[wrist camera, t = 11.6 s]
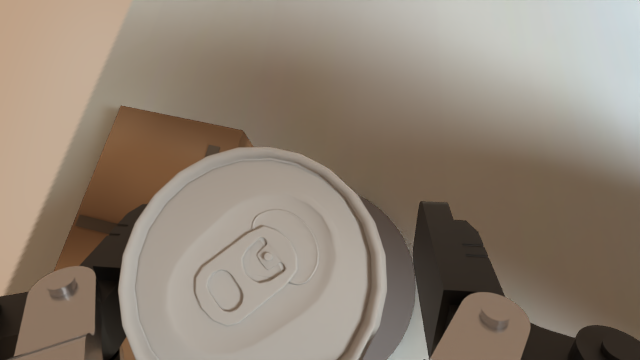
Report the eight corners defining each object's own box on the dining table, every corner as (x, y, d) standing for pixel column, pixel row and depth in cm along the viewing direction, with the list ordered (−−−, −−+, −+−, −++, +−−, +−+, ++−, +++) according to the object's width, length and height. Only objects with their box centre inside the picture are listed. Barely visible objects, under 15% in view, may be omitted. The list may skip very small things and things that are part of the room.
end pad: (373, 164, 20) (373, 162, 20) (445, 348, 18) (447, 349, 17) (202, 222, 20) (199, 221, 19) (250, 416, 17) (248, 419, 17)
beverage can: (386, 295, 18) (454, 298, 6) (301, 365, 17) (207, 508, 6) (321, 212, 19) (279, 90, 8) (239, 276, 19) (61, 247, 7)
